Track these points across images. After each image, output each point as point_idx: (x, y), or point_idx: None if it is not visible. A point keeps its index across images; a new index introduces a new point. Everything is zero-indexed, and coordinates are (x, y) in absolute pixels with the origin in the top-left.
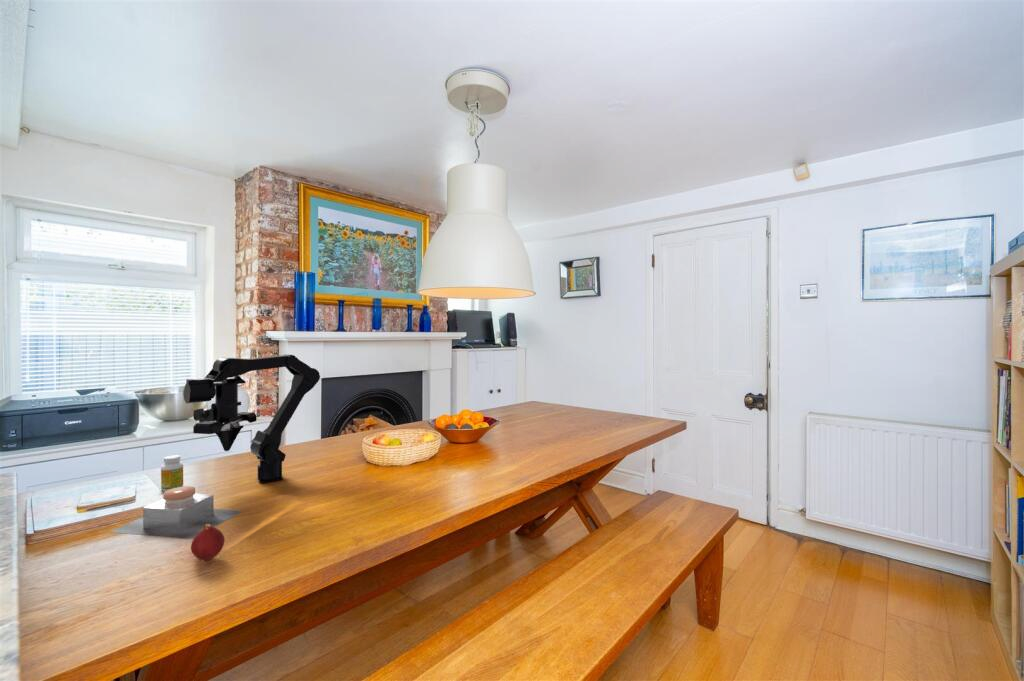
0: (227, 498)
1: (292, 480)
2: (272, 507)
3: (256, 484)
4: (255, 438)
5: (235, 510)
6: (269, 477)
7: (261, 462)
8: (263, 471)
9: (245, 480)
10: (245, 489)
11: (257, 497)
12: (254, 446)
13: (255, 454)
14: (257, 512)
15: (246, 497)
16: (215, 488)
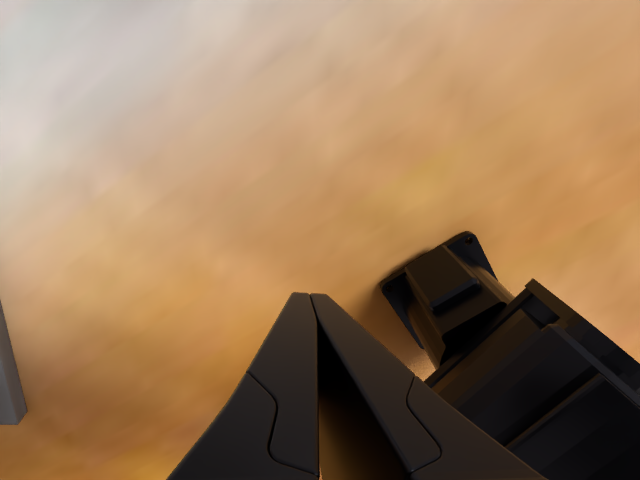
0: (172, 252)
1: (417, 376)
2: (123, 454)
3: (371, 268)
4: (615, 445)
5: (8, 400)
6: (409, 319)
7: (451, 336)
8: (424, 313)
9: (438, 180)
10: (301, 260)
11: (208, 361)
12: (510, 401)
13: (480, 346)
14: (65, 438)
15: (201, 322)
16: (308, 88)
